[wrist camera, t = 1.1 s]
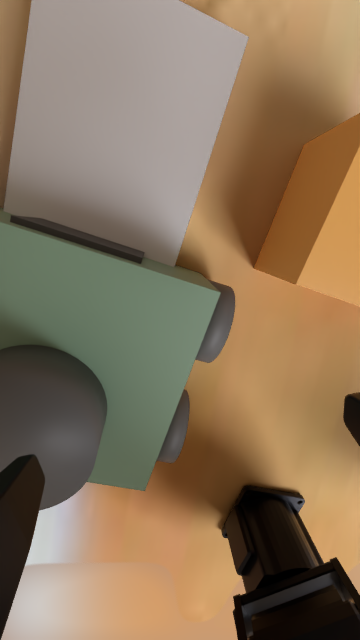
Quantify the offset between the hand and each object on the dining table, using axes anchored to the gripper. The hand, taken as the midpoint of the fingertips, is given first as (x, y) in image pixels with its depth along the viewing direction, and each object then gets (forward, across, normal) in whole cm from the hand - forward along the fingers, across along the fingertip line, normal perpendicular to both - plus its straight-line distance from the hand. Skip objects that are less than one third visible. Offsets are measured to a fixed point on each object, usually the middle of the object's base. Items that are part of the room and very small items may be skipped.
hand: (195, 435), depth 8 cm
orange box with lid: (+12, -10, -4) cm, 17 cm away
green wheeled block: (+12, +4, -5) cm, 14 cm away
